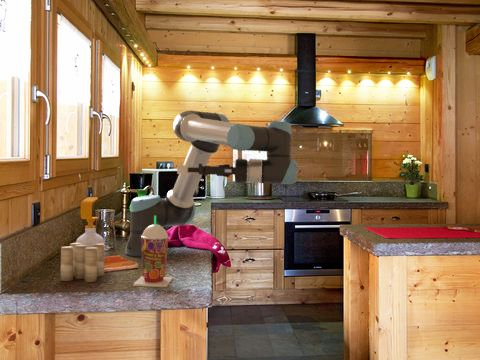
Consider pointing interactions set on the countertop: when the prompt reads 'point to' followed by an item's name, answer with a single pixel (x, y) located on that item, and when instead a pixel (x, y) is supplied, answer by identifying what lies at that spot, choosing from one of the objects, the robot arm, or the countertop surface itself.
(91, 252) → the spacer posts
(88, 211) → the soap bottle
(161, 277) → the smoothie
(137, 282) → the plate
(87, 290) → the countertop surface
